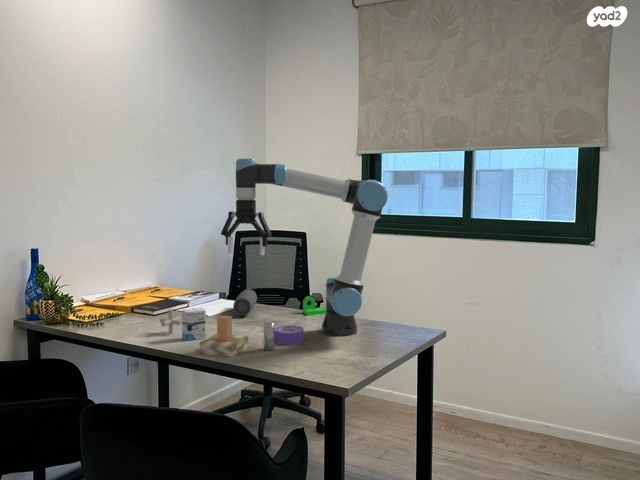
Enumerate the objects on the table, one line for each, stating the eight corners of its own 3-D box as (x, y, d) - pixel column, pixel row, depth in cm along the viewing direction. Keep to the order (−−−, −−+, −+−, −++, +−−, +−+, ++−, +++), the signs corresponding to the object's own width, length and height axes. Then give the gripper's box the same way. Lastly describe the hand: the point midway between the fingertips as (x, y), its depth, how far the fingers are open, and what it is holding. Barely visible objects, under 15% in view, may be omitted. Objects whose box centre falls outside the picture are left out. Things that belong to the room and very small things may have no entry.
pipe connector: (188, 331, 241) (188, 308, 240) (173, 337, 232) (172, 313, 231) (169, 329, 246) (169, 306, 245) (153, 334, 237) (152, 310, 236)
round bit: (275, 348, 219) (275, 322, 218) (272, 350, 215) (272, 324, 214) (265, 347, 219) (265, 321, 219) (262, 350, 216) (262, 323, 215)
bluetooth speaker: (252, 318, 266) (252, 297, 265) (232, 318, 267) (232, 296, 266) (258, 307, 289) (258, 288, 288) (239, 307, 289) (239, 287, 288)
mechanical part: (307, 315, 273) (307, 299, 272) (302, 313, 278) (302, 296, 278) (330, 313, 278) (330, 297, 277) (325, 311, 283) (325, 295, 283)
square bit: (232, 347, 217) (231, 316, 216) (227, 350, 214) (227, 318, 212) (222, 346, 219) (222, 315, 217) (217, 349, 215) (217, 317, 214)
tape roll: (292, 346, 221) (292, 334, 221) (267, 342, 228) (267, 329, 227) (309, 339, 231) (309, 327, 231) (285, 335, 238) (285, 323, 237)
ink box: (185, 341, 227) (184, 312, 226) (182, 338, 232) (181, 309, 230) (206, 338, 231) (206, 309, 230) (202, 335, 235) (202, 307, 234)
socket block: (248, 346, 221) (248, 336, 221) (232, 356, 208) (232, 345, 207) (217, 343, 225) (217, 333, 224) (199, 353, 212) (199, 342, 211)
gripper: (279, 199, 221) (279, 254, 223) (220, 198, 228) (221, 251, 230) (272, 199, 214) (272, 256, 216) (211, 198, 221) (212, 254, 223)
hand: (246, 254), depth 223 cm, fingers open, 13 cm apart
